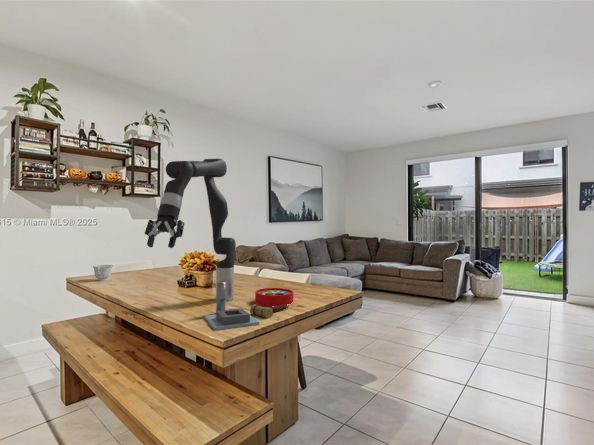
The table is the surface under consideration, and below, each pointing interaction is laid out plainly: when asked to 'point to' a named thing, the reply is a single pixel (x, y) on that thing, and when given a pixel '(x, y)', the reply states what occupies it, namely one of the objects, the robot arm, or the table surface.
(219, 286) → the chrome cylinder
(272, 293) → the toy clock
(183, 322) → the table surface
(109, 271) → the teacup
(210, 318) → the dock
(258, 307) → the gavel
